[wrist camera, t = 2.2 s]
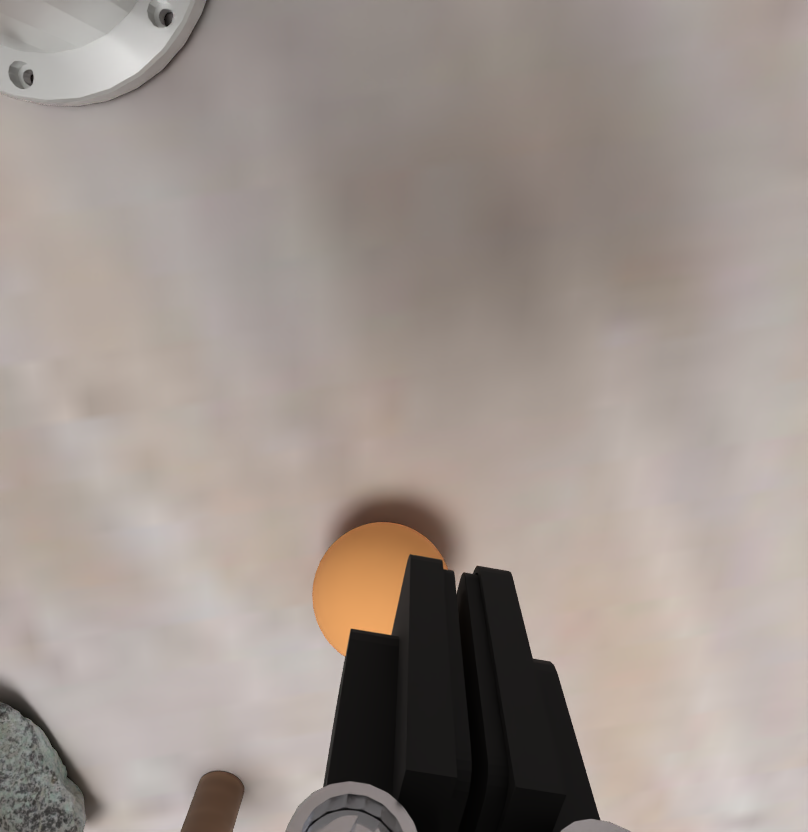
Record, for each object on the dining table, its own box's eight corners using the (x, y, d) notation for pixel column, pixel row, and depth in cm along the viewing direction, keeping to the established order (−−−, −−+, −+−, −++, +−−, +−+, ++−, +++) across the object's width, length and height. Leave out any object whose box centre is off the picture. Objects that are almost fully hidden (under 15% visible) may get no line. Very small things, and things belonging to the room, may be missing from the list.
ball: (332, 487, 28) (311, 561, 22) (460, 510, 28) (471, 588, 23) (315, 595, 30) (292, 687, 24) (434, 615, 30) (439, 711, 25)
